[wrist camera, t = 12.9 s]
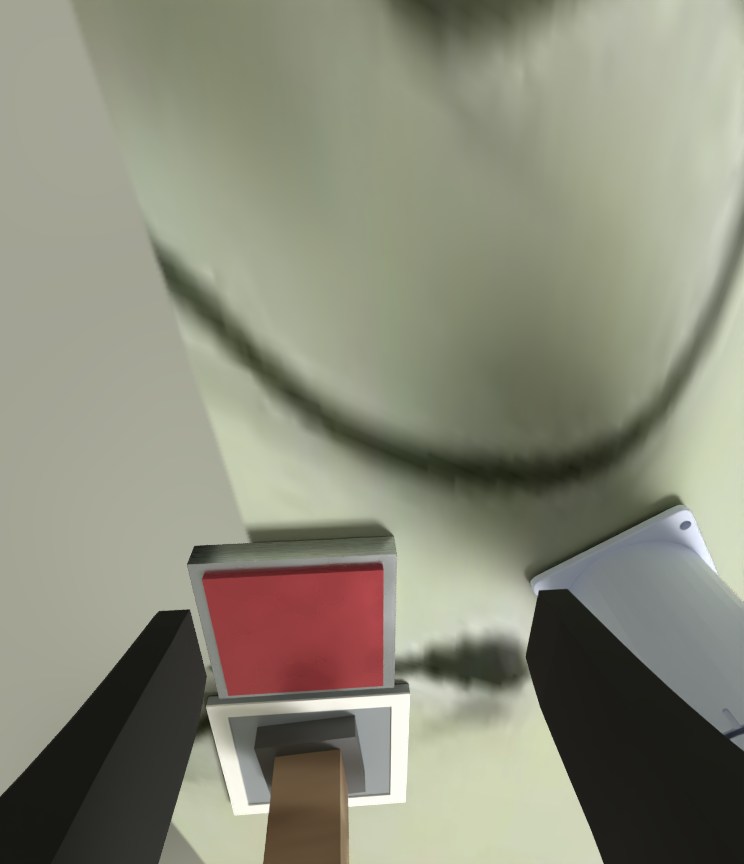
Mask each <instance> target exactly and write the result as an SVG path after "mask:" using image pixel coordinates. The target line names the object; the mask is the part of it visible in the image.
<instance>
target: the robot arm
mask: <svg viewBox="0 0 744 864" xmlns="http://www.w3.org/2000/svg"><path fill="white" fill-rule="evenodd" d="M682 522H683V523H682ZM681 523H682V524H681ZM530 585H531V588H532V590H533V592H534V593H535V595H536V596H537V602H536V607H535V612H534V617H533V622H532V627H531V632H530V637H529V642H528V647H527V652H526V660H527V663H528V667H529V671H530V674H531V678H532V681H533V685H534V688H535V691H536V695H537V698H538V701H539V704H540V708H541V710H542V713H543V715H544V718H545V720H546V723H547V725H548V727H549V730H550V732H551V735H552V737H553V740H554V742H555V745H556V747H557V749H558V752H559V754H560V757H561V759H562V761H563V764H564V766H565V769H566V771H567V773H568V776H569V778H570V781H571V783H572V785H573V788H574V790H575V793H576V795H577V797H578V800H579V802H580V805H581V807H582V809H583V812H584V814H585V817H586V819H587V821H588V824H589V826H590V829H591V831H592V834H593V836H594V839H595V842H596V844H597V847H598V849H599V852H600V855H601V857H602V860H603V863H604V864H744V602H743V601H742V599H741V598H740V597H739V596H738V595H737V594H736V593H735V592H734V591H733V590H732V589H731V588H730V587H729V586H728V585H727V584H726V583H725V582H724V581H723V580H722V579H721V578H720V577H719V575H718V572H717V570H716V567H715V565H714V563H713V560H712V558H711V556H710V553H709V551H708V549H707V546H706V544H705V542H704V539H703V537H702V535H701V532H700V530H699V528H698V525H697V523H696V521H695V518H694V516H693V513H692V512H691V511H690V510H689V509H688V508H687V507H686V506H684V505H677V506H674V507H672V508H670V509H668V510H666V511H664V512H662V513H660V514H658V515H656V516H654V517H652V518H650V519H648V520H646V521H644V522H642V523H640V524H638V525H636V526H634V527H632V528H630V529H628V530H626V531H624V532H622V533H620V534H618V535H616V536H614V537H612V538H610V539H608V540H606V541H604V542H602V543H600V544H598V545H597V546H595V547H593V548H591V549H589V550H587V551H585V552H583V553H581V554H579V555H577V556H575V557H573V558H571V559H569V560H567V561H565V562H563V563H561V564H559V565H557V566H555V567H553V568H551V569H549V570H547V571H545V572H543V573H541V574H539V575H537V576H535V577H534V578H533V579H532V580H531V582H530ZM206 678H207V676H206V672H205V668H204V664H203V660H202V656H201V652H200V648H199V644H198V640H197V636H196V632H195V628H194V624H193V620H192V616H191V612H190V610H173V611H159V612H158V613H157V614H156V615H155V616H154V617H153V618H152V620H151V621H150V622H149V624H148V625H147V626H146V627H145V629H144V630H143V631H142V633H141V634H140V635H139V637H138V638H137V639H136V640H135V641H134V643H133V644H132V645H131V647H130V648H129V649H128V650H127V652H126V653H125V654H124V656H123V657H122V658H121V659H120V660H119V662H118V663H117V664H116V665H115V667H114V668H113V669H112V671H111V672H110V673H109V674H108V675H107V677H106V678H105V679H104V680H103V681H102V683H101V684H100V685H99V686H98V687H97V689H96V690H95V691H94V692H93V693H92V695H91V696H90V697H89V698H88V699H87V701H86V702H85V703H84V704H83V705H82V707H81V708H80V709H79V710H78V711H77V713H76V714H75V715H74V716H73V717H72V718H71V720H70V721H69V722H68V723H67V724H66V725H65V726H64V728H63V729H62V730H61V731H60V732H59V733H58V734H57V735H56V736H55V738H54V739H53V740H52V741H51V742H50V743H49V744H48V745H47V747H46V748H45V749H44V750H43V751H42V752H41V753H40V754H39V756H38V757H37V758H36V759H35V760H34V761H33V762H32V763H31V764H30V765H29V767H28V768H27V769H26V770H25V771H24V772H23V773H22V774H21V775H20V776H19V777H18V778H17V779H16V781H15V782H14V783H13V784H12V785H11V786H10V787H9V788H8V789H7V790H6V791H5V792H4V793H3V794H2V795H1V796H0V864H158V863H159V859H160V856H161V852H162V849H163V846H164V842H165V839H166V836H167V832H168V829H169V825H170V822H171V819H172V815H173V812H174V808H175V805H176V802H177V798H178V795H179V791H180V788H181V785H182V781H183V778H184V774H185V771H186V767H187V764H188V760H189V757H190V754H191V750H192V747H193V743H194V739H195V736H196V732H197V728H198V723H199V717H200V712H201V707H202V701H203V695H204V689H205V683H206Z"/></svg>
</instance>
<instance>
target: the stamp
mask: <svg viewBox="0 0 744 864" xmlns="http://www.w3.org/2000/svg"><path fill="white" fill-rule="evenodd" d="M254 750H255V753H256V756H257V759H258V762H259V765H260V767H261V770H262V773H263V776H264V779H265V782H266V784H267V787H268V790H269V793H270V796H271V797H270V806H269V815H268V825H267V834H266V843H265V852H264V861H263V864H349V826H348V794H352V793H360V792H366V789H365V769H364V764H363V758H362V753H361V747H360V741H359V736H358V730H357V725H356V719H355V715H352V716H344V717H335V718H327V719H319V720H310V721H302V722H294V723H285V724H277V725H269V726H260V727H257V732H256V739H255V746H254Z"/></svg>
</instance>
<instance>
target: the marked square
mask: <svg viewBox="0 0 744 864" xmlns="http://www.w3.org/2000/svg"><path fill="white" fill-rule="evenodd" d="M409 707H410V690H409V684H397V685H394V688H379V689H364V690H348V691H333V692H317V693H302V694H286V695H271V696H255V697H240V698H224V699H219V696H210V697H208V701H207V705H206V709H207V713H208V717H209V720H210V724H211V728H212V732H213V736H214V739H215V743H216V747H217V751H218V755H219V758H220V762H221V766H222V770H223V774H224V777H225V781H226V785H227V789H228V792H229V796H230V800H231V804H232V808H233V811H234V815H245V814H258V813H269V806H270V797H271V796H270V793H269V790H268V787H267V784H266V782H265V779H264V776H263V773H262V770H261V767H260V765H259V762H258V759H257V756H256V753H255V750H254V746H255V739H256V732H257V727H260V726H269V725H277V724H285V723H294V722H302V721H310V720H319V719H327V718H335V717H344V716H352V715H355V719H356V725H357V730H358V736H359V741H360V747H361V753H362V758H363V764H364V769H365V789H366V792H360V793H352V794H348V807H350V806H363V805H376V804H389V803H402V802H406V779H407V755H408V731H409Z"/></svg>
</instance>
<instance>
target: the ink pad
mask: <svg viewBox="0 0 744 864" xmlns="http://www.w3.org/2000/svg"><path fill="white" fill-rule="evenodd" d="M396 566H397V553H396V546H395V540H394V536H389V537H368V538H348V539H327V540H306V541H286V542H265V543H245V544H223V545H204V546H194V548H193V551H192V553H191V556H190V558H189V561H188V563H187V567H188V571H189V574H190V579H191V583H192V587H193V591H194V595H195V600H196V604H197V608H198V612H199V616H200V621H201V624H202V629H203V633H204V637H205V641H206V646H207V650H208V654H209V658H210V662H211V666H212V671H213V675H214V679H215V683H216V687H217V691H218V695H219V699H224V698H240V697H255V696H271V695H286V694H302V693H317V692H333V691H348V690H364V689H379V688H394V677H395V622H396Z"/></svg>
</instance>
